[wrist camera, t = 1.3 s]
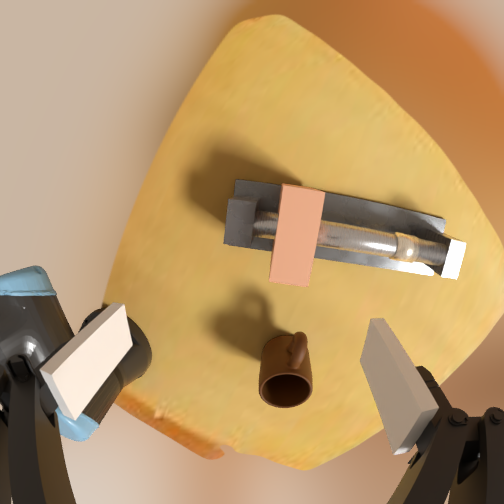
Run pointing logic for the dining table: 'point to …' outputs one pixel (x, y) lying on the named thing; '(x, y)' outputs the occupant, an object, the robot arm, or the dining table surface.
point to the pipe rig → (349, 231)
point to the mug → (285, 371)
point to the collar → (296, 234)
